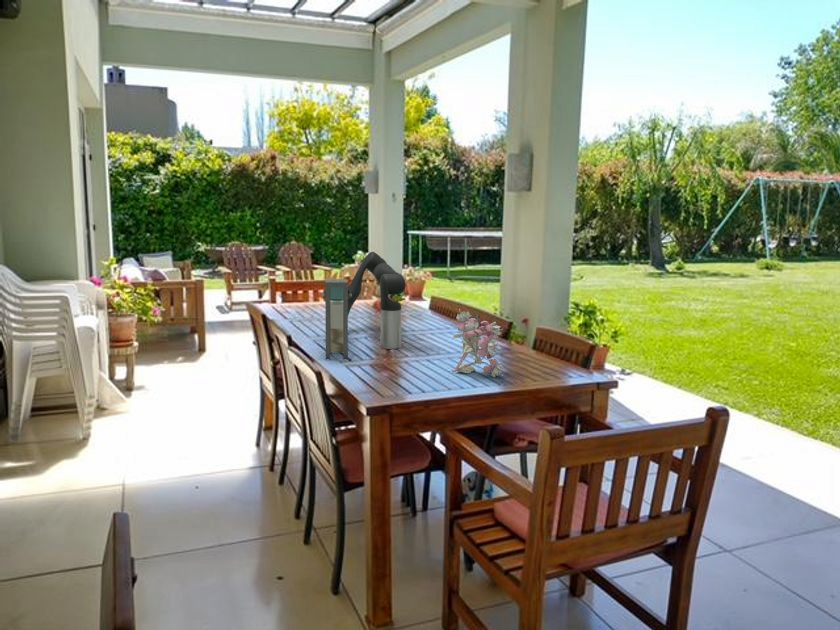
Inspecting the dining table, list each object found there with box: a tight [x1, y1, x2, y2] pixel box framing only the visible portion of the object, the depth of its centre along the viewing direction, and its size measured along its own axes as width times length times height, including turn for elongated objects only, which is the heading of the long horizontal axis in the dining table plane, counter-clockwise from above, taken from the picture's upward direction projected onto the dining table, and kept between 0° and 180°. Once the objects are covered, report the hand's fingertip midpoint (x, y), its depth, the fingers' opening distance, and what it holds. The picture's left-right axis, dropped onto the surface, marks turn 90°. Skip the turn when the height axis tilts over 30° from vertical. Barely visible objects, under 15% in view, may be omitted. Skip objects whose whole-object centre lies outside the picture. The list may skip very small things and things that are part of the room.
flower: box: [450, 308, 504, 378], centre depth 246 cm, size 20×22×25 cm
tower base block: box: [331, 329, 343, 353], centre depth 287 cm, size 8×12×10 cm, turn 7°
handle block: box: [330, 287, 343, 299], centre depth 288 cm, size 7×21×6 cm, turn 7°
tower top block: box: [330, 301, 343, 329], centre depth 285 cm, size 8×12×10 cm, turn 7°
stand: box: [324, 278, 349, 360], centre depth 272 cm, size 9×12×32 cm
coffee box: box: [462, 313, 481, 354], centre depth 288 cm, size 9×6×16 cm
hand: (337, 287), depth 293 cm, fingers closed on handle block, 3 cm apart
